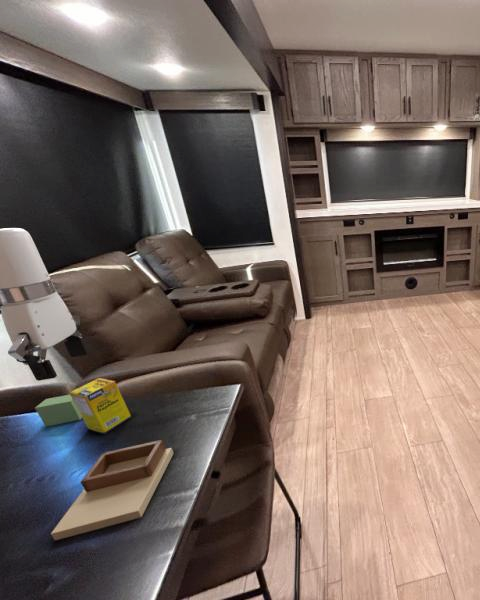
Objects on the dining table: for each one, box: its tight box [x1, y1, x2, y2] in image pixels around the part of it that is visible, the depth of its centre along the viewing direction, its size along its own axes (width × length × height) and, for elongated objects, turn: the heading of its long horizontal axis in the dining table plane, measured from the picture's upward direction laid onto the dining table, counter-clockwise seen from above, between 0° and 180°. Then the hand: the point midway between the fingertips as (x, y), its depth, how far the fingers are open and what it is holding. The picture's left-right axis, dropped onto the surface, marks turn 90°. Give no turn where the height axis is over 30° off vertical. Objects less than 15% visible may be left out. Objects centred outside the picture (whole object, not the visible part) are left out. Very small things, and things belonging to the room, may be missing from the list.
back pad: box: [34, 394, 83, 427], centre depth 78 cm, size 4×7×6 cm, turn 105°
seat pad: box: [50, 439, 175, 541], centre depth 57 cm, size 14×12×4 cm
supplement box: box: [69, 377, 132, 435], centre depth 74 cm, size 6×6×11 cm
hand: (64, 366), depth 69 cm, fingers open, 9 cm apart
